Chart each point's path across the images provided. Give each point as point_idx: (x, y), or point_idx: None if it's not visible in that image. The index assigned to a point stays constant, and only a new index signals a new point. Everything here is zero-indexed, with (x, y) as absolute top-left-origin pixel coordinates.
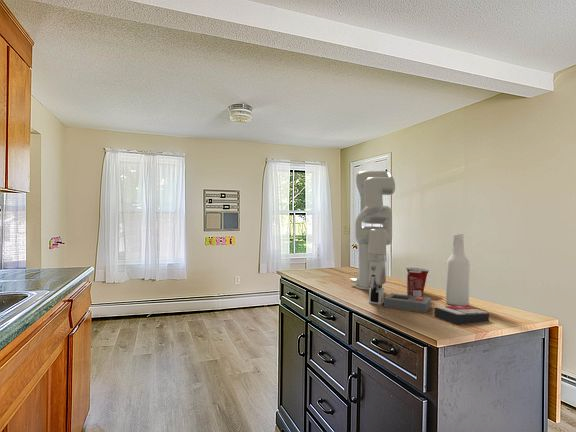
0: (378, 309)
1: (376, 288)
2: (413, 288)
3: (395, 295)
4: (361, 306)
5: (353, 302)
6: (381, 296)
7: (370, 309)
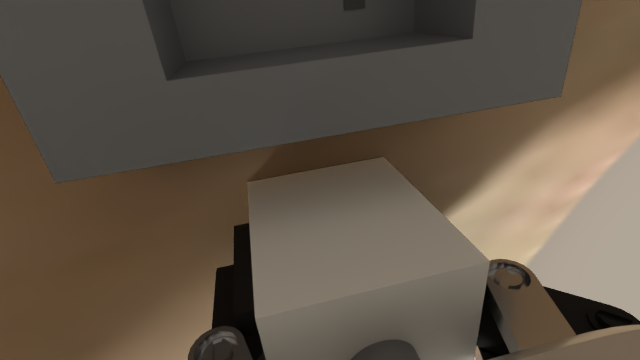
0: (589, 81)
1: (556, 322)
2: None
3: (157, 50)
4: (536, 237)
5: None
6: (381, 206)
7: (609, 139)
